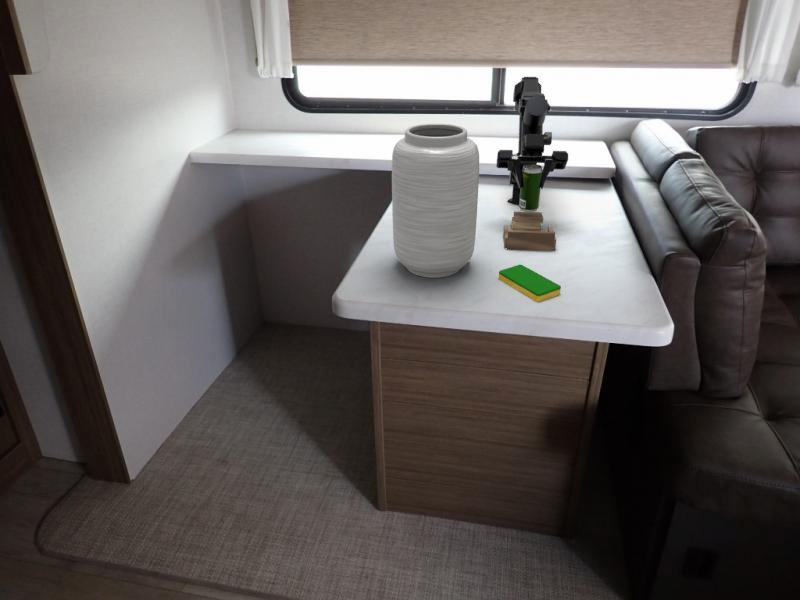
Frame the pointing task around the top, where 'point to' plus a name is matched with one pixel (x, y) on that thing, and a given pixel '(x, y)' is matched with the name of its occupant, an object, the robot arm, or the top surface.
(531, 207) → the beer can
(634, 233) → the top surface
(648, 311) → the top surface
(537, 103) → the robot arm
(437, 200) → the vase
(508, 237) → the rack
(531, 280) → the dish sponge
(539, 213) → the offcut stack
